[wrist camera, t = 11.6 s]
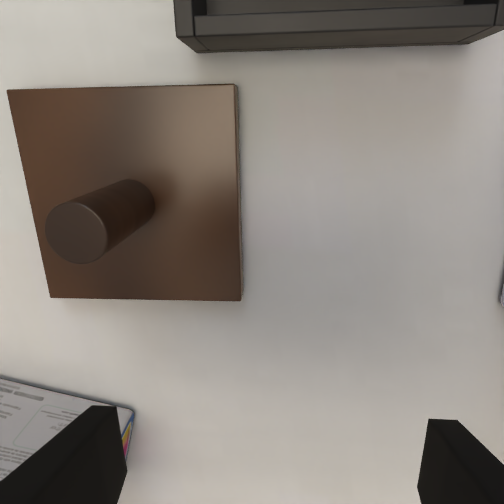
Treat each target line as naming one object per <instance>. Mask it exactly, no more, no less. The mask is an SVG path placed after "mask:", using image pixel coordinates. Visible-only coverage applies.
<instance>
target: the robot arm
mask: <svg viewBox="0 0 504 504" xmlns="http://www.w3.org/2000/svg"><path fill="white" fill-rule="evenodd" d="M500 300H501V305H502V306H503V307H504V285H503V290H502V294H501V299H500ZM126 474H127V466H126V460H125V454H124V448H123V442H122V436H121V430H120V424H119V418H118V412H117V406H101V405H92V406H90V407H89V408H88V409H86V410H85V411H84V412H83V413H82V414H80V415H79V416H78V417H77V418H76V419H74V420H73V421H72V422H71V423H70V424H68V425H67V426H66V427H65V428H64V429H62V430H61V431H60V432H59V433H58V434H57V435H55V436H54V437H53V438H52V439H51V440H49V441H48V442H47V443H46V444H45V445H44V446H42V447H41V448H40V449H39V450H38V451H36V452H35V453H34V454H33V455H32V456H30V457H29V458H28V459H27V460H25V461H24V462H23V463H22V464H21V465H19V466H18V467H17V468H16V469H15V470H13V471H12V472H11V473H10V474H9V475H7V476H6V477H5V478H4V479H2V480H1V481H0V504H117V502H118V499H119V496H120V493H121V490H122V487H123V484H124V480H125V477H126ZM417 488H418V492H419V496H420V500H421V504H504V465H503V464H502V463H501V462H500V461H499V460H498V459H497V458H496V457H495V456H494V455H493V454H492V453H491V452H490V451H489V450H488V449H487V448H486V447H485V446H484V445H483V444H482V443H481V442H480V441H479V440H478V439H476V438H475V437H474V436H473V435H472V434H471V433H470V432H469V431H468V430H467V429H466V428H465V427H464V426H463V425H462V424H461V423H460V422H459V421H458V420H443V419H429V420H428V426H427V432H426V438H425V444H424V450H423V456H422V462H421V468H420V474H419V480H418V485H417Z"/></svg>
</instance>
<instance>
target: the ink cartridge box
mask: <svg viewBox="0 0 504 504" xmlns="http://www.w3.org/2000/svg"><path fill="white" fill-rule="evenodd" d="M92 405H101V406H113V405H108V404H104V403H100V402H96V401H91V400H87V399H83V398H78V397H74V396H70V395H65V394H61V393H57V392H53V391H49V390H44V389H40V388H36V387H32V386H28V385H24V384H20V383H16V382H12V381H8V380H3V379H0V481H1V480H2V479H4V478H5V477H6V476H7V475H9V474H10V473H11V472H12V471H13V470H15V469H16V468H17V467H18V466H19V465H21V464H22V463H23V462H24V461H25V460H27V459H28V458H29V457H30V456H32V455H33V454H34V453H35V452H36V451H38V450H39V449H40V448H41V447H42V446H44V445H45V444H46V443H47V442H48V441H49V440H51V439H52V438H53V437H54V436H55V435H57V434H58V433H59V432H60V431H61V430H62V429H64V428H65V427H66V426H67V425H68V424H70V423H71V422H72V421H73V420H74V419H76V418H77V417H78V416H79V415H80V414H82V413H83V412H84V411H85V410H86V409H88V408H89V407H90V406H92ZM117 412H118V418H119V424H120V430H121V436H122V442H123V448H124V454H125V460H126V458H127V452H128V447H129V442H130V437H131V431H132V426H133V419H134V413H133V412H132V411H131V410H129V409H126V408H121V407H117Z"/></svg>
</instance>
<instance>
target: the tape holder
mask: <svg viewBox="0 0 504 504" xmlns="http://www.w3.org/2000/svg"><path fill="white" fill-rule="evenodd" d="M7 95H8V100H9V105H10V109H11V114H12V119H13V123H14V128H15V133H16V138H17V142H18V147H19V152H20V157H21V161H22V166H23V171H24V175H25V180H26V185H27V190H28V194H29V199H30V204H31V208H32V213H33V218H34V223H35V227H36V232H37V237H38V241H39V246H40V251H41V256H42V260H43V265H44V270H45V275H46V279H47V284H48V289H49V293H50V297H51V298H89V299H144V300H198V301H241V300H242V295H243V261H242V225H241V189H240V153H239V116H238V87H237V86H236V85H235V84H203V85H165V86H127V87H89V88H50V89H12V90H7Z"/></svg>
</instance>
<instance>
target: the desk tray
mask: <svg viewBox="0 0 504 504" xmlns="http://www.w3.org/2000/svg"><path fill="white" fill-rule="evenodd" d="M173 2H174V15H175V29H176V37H177V38H178V39H180V40H181V41H182V42H183V43H185V44H186V45H187V46H189V47H190V48H191V49H192V50H194V51H195V52H196V53H211V52H242V51H272V50H303V49H333V48H364V47H394V46H425V45H455V44H469V43H472V42H474V41H477V40H479V39H482V38H484V37H487V36H489V35H492V34H494V33H497V32H499V31H501V30H504V0H173Z"/></svg>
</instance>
